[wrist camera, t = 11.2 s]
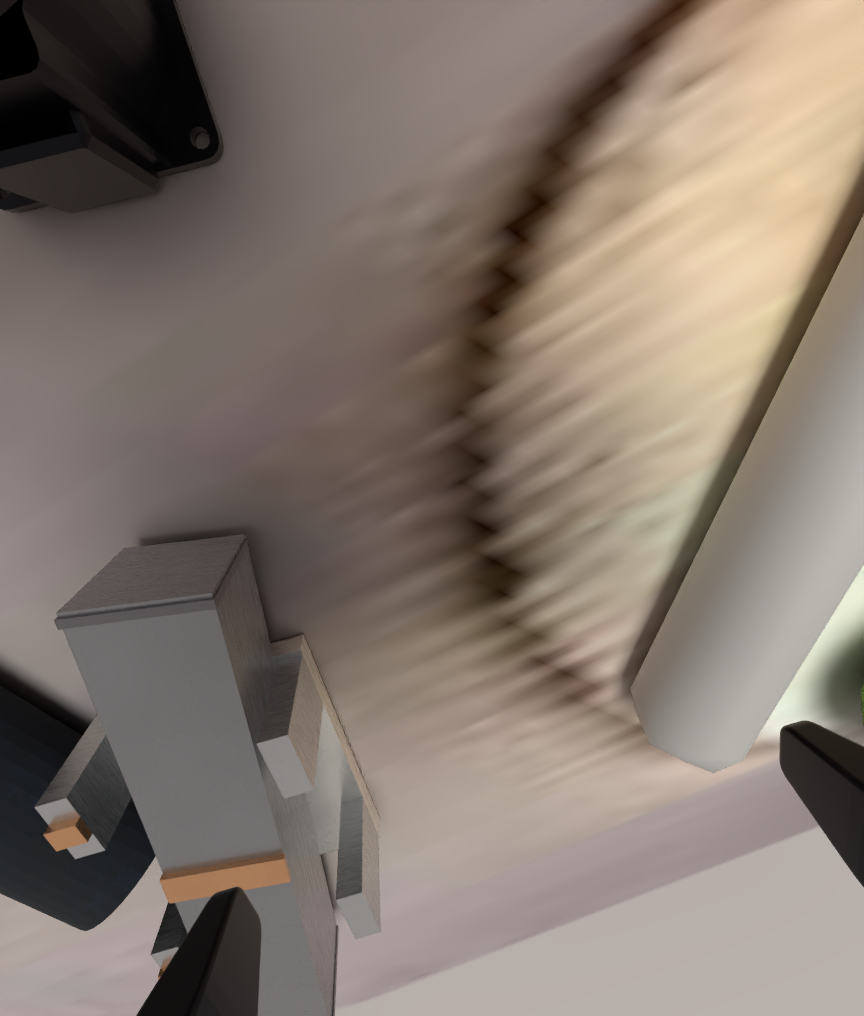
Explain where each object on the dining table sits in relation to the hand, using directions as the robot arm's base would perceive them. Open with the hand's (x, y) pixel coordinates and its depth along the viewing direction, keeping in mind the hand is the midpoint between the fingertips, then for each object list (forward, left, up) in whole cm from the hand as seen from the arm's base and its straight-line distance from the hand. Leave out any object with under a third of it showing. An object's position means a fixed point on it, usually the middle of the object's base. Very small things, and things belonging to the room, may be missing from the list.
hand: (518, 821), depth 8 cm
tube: (+1, +14, -12) cm, 19 cm away
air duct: (+8, -10, -11) cm, 17 cm away
